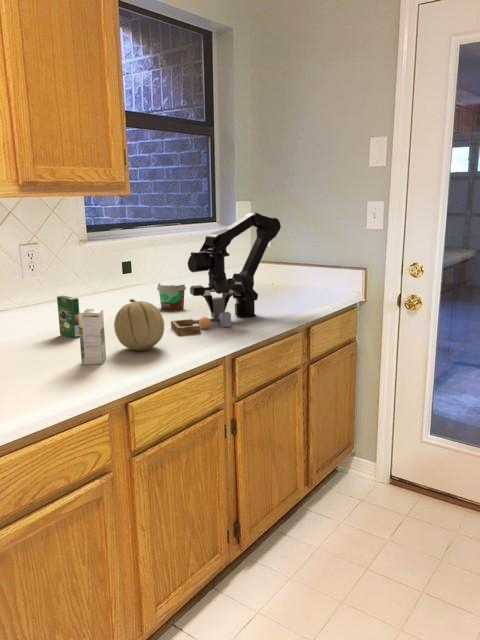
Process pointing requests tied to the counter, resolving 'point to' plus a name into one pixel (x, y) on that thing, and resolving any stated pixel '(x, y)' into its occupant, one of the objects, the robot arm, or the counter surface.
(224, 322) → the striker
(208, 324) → the ball
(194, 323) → the rail
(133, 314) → the cantaloupe
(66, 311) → the coffee box
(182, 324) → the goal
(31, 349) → the counter surface
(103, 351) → the syrup box
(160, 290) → the food container
